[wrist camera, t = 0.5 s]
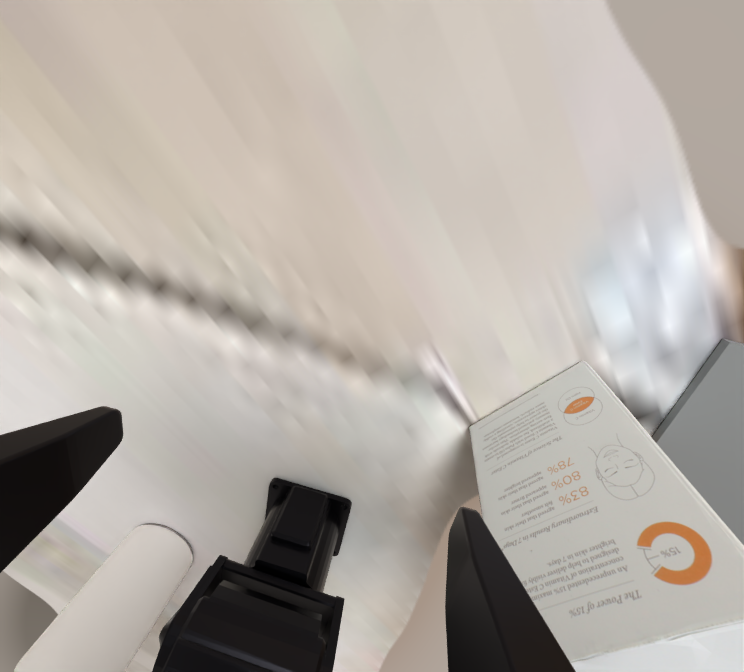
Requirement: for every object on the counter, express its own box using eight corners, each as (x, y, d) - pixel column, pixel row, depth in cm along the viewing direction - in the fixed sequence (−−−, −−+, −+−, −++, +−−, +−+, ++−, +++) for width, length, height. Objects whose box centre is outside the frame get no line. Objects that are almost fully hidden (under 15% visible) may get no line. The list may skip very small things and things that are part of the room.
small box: (523, 486, 24) (608, 776, 13) (466, 425, 23) (499, 682, 11) (644, 430, 21) (906, 744, 9) (585, 355, 20) (801, 610, 8)
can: (193, 530, 32) (70, 708, 21) (198, 574, 35) (92, 751, 24) (127, 513, 33) (-24, 678, 22) (137, 558, 36) (7, 724, 25)
